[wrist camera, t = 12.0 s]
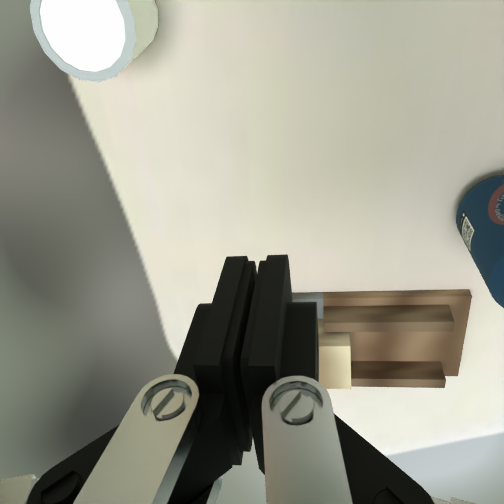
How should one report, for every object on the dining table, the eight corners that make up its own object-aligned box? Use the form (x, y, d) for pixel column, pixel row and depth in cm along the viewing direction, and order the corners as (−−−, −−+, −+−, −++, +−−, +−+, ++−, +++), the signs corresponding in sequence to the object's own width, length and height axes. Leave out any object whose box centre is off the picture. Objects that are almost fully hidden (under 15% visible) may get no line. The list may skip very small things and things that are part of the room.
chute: (468, 289, 44) (479, 313, 41) (455, 369, 49) (463, 394, 47) (236, 294, 48) (231, 316, 45) (249, 367, 53) (245, 390, 50)
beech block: (348, 318, 46) (350, 346, 43) (349, 359, 49) (351, 388, 46) (289, 319, 47) (287, 346, 44) (294, 359, 50) (292, 388, 47)
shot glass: (159, 73, 36) (128, 96, 30) (76, 47, 36) (28, 64, 30) (174, -23, 32) (142, -18, 27) (81, -54, 32) (28, -56, 26)
